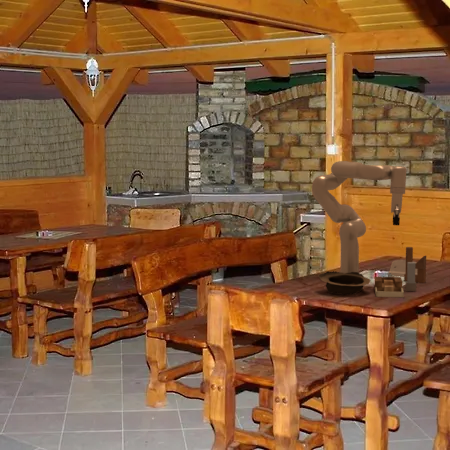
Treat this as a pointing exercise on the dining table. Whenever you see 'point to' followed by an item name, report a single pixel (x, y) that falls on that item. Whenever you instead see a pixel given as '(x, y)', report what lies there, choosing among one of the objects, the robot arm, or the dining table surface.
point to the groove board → (380, 280)
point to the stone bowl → (344, 282)
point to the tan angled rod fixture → (416, 266)
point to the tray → (389, 293)
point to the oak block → (388, 283)
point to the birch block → (388, 288)
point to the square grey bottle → (410, 277)
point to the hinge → (399, 268)
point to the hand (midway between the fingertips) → (395, 224)
